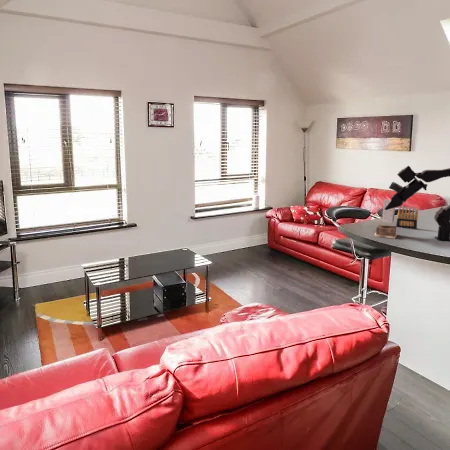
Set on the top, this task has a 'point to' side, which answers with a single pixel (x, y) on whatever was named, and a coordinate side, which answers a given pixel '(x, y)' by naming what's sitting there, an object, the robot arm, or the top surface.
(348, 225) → the top surface
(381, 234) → the socket block
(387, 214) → the metal bar
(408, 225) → the ammunition clip
